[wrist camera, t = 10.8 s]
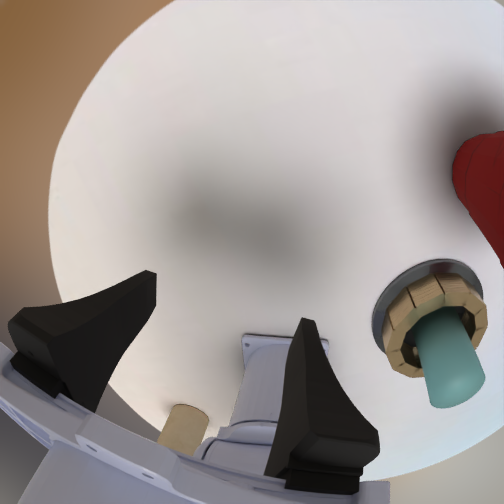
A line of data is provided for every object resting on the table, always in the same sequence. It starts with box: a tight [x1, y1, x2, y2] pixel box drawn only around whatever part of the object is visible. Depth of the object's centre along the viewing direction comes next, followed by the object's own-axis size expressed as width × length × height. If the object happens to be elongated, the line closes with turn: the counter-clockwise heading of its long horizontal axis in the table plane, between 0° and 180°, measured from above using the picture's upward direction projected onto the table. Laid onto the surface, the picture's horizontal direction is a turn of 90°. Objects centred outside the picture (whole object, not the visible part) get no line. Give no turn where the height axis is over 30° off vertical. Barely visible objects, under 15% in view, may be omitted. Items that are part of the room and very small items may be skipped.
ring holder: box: [372, 259, 488, 378], centre depth 20 cm, size 11×11×3 cm
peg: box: [411, 306, 485, 408], centre depth 18 cm, size 4×4×8 cm
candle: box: [157, 405, 209, 456], centre depth 32 cm, size 6×6×10 cm
